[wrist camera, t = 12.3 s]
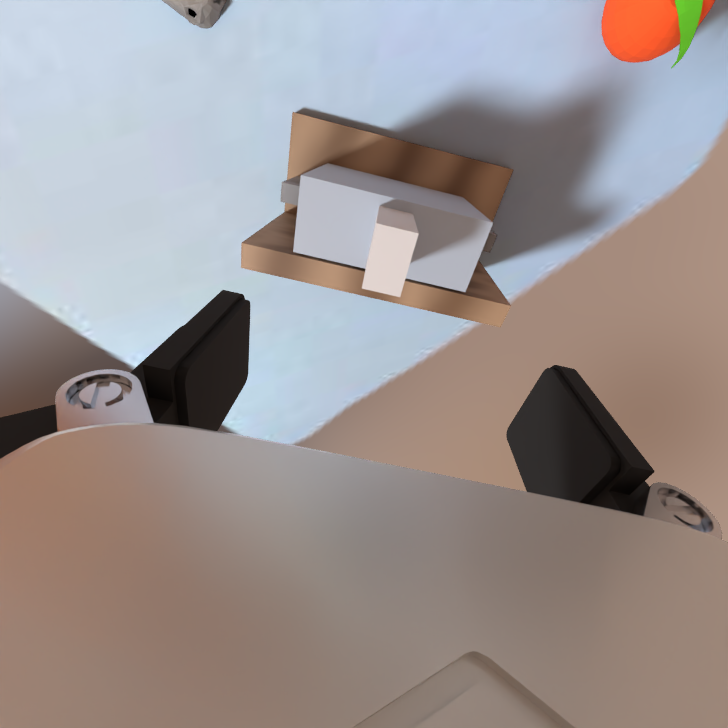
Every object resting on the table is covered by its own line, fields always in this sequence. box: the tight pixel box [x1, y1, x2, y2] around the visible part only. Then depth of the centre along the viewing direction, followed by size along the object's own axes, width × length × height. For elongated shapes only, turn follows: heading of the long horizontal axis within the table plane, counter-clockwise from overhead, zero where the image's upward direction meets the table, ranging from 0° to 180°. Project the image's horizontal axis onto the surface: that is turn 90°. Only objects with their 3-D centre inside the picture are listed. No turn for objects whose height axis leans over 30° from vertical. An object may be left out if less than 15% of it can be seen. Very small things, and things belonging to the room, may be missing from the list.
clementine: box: [602, 0, 715, 68], centre depth 26 cm, size 8×7×7 cm
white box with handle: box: [293, 163, 493, 297], centre depth 29 cm, size 14×5×18 cm, turn 78°
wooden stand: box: [241, 112, 513, 327], centre depth 31 cm, size 22×11×14 cm, turn 78°
